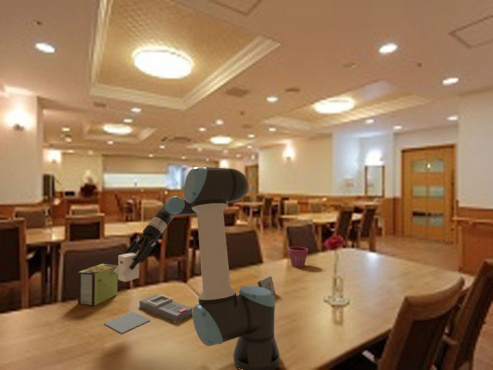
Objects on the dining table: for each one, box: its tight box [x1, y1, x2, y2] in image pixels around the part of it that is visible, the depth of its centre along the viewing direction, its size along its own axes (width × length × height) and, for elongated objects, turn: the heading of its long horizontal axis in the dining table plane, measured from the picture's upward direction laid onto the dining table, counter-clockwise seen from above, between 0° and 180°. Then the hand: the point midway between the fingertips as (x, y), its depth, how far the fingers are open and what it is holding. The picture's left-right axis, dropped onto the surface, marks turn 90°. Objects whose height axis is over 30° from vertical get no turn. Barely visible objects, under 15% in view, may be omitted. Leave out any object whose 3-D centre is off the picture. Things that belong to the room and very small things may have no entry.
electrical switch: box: [257, 275, 276, 295], centre depth 145 cm, size 9×5×9 cm, turn 141°
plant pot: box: [287, 246, 309, 269], centre depth 199 cm, size 14×14×13 cm
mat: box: [104, 311, 151, 335], centre depth 114 cm, size 13×13×1 cm
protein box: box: [77, 263, 119, 307], centre depth 138 cm, size 10×15×16 cm
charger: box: [117, 252, 140, 283], centre depth 115 cm, size 5×7×10 cm
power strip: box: [139, 294, 193, 323], centre depth 125 cm, size 26×9×4 cm, turn 55°
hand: (120, 274), depth 111 cm, fingers closed on charger, 5 cm apart
